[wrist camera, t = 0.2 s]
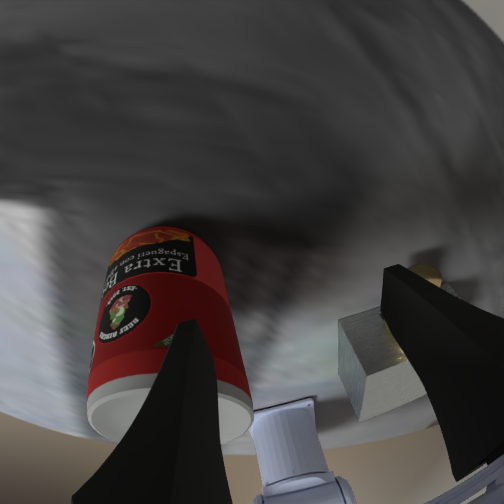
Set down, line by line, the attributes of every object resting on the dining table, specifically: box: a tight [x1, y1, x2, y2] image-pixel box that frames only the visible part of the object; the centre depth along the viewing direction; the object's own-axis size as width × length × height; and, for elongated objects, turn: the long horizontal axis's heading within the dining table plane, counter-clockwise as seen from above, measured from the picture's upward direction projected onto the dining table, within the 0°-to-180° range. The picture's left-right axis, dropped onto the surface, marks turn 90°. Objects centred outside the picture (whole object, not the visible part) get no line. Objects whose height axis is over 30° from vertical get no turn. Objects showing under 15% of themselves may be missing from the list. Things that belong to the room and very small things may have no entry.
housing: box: [338, 282, 464, 422], centre depth 25 cm, size 8×12×6 cm, turn 101°
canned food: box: [87, 226, 254, 445], centre depth 16 cm, size 8×8×11 cm
